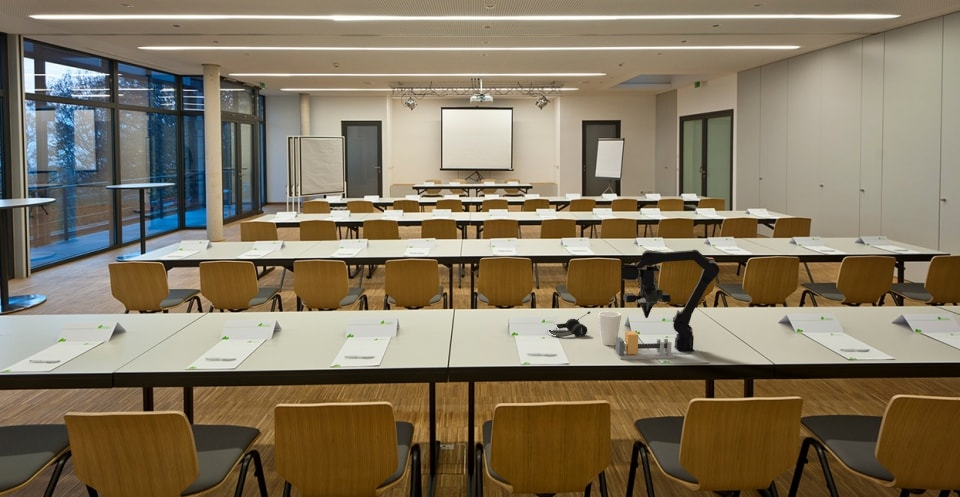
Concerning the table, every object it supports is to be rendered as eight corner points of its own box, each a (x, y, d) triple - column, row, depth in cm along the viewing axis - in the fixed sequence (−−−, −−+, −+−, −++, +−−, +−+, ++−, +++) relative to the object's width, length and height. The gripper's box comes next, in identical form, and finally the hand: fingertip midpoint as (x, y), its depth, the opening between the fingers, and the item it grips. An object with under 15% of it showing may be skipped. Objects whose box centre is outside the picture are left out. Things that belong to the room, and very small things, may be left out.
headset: (594, 314, 319) (550, 321, 315) (596, 334, 320) (553, 342, 317) (584, 307, 332) (542, 314, 329) (586, 327, 333) (544, 334, 330)
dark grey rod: (668, 348, 293) (668, 341, 292) (670, 350, 290) (670, 343, 289) (618, 349, 292) (618, 341, 291) (619, 351, 289) (620, 343, 288)
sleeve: (634, 350, 293) (634, 331, 292) (637, 354, 288) (638, 334, 287) (624, 350, 293) (625, 331, 292) (627, 354, 288) (628, 334, 287)
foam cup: (603, 347, 303) (604, 317, 301) (594, 341, 311) (594, 312, 310) (624, 345, 305) (625, 315, 303) (614, 339, 314) (615, 310, 312)
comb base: (666, 351, 297) (667, 335, 296) (674, 358, 287) (675, 341, 286) (614, 352, 295) (614, 336, 294) (620, 359, 285) (620, 342, 284)
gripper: (630, 285, 291) (629, 322, 293) (676, 284, 292) (674, 322, 294) (623, 279, 302) (622, 316, 304) (667, 279, 303) (666, 315, 305)
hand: (646, 317), depth 301 cm, fingers closed
